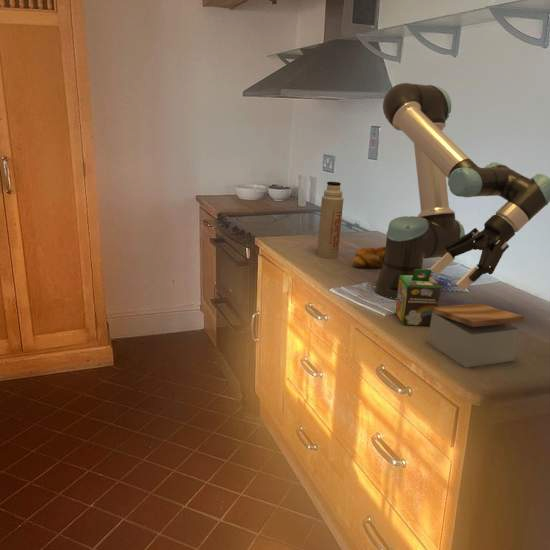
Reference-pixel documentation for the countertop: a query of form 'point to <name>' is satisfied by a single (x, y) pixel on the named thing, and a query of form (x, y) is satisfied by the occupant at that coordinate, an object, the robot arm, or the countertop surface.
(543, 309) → the countertop surface
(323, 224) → the thermos bottle
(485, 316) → the walnut lid
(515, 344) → the grey crate
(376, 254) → the bread roll
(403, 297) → the chalk box
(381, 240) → the countertop surface
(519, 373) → the countertop surface
